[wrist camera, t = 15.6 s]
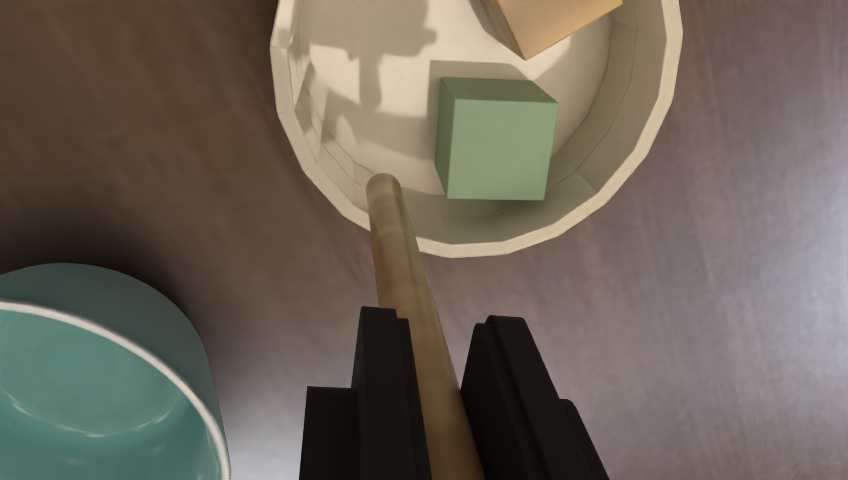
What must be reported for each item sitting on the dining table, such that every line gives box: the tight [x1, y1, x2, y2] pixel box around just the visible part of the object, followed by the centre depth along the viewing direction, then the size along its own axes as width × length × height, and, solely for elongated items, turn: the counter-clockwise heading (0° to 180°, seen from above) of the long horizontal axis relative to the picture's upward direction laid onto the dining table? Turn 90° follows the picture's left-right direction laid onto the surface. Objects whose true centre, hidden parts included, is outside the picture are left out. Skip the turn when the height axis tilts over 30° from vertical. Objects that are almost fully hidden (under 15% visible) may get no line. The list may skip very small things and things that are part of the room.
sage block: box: [435, 77, 559, 201], centre depth 26 cm, size 4×4×4 cm
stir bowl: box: [270, 0, 683, 258], centre depth 25 cm, size 14×14×6 cm
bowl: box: [0, 263, 231, 480], centre depth 28 cm, size 16×16×8 cm
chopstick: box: [366, 173, 486, 480], centre depth 14 cm, size 1×1×18 cm
